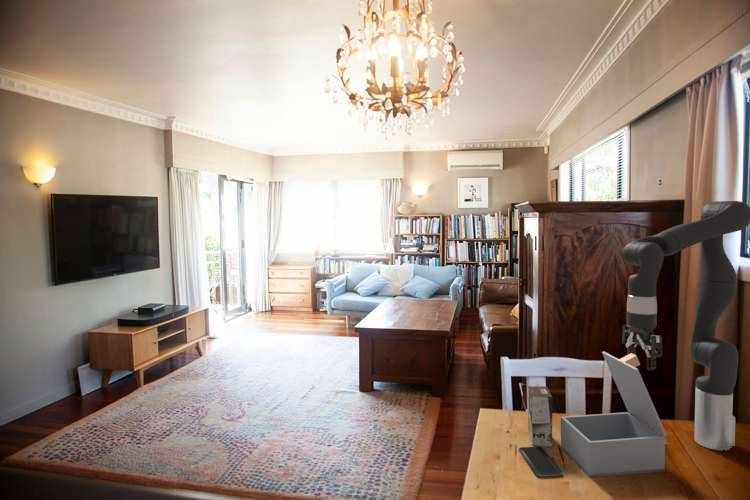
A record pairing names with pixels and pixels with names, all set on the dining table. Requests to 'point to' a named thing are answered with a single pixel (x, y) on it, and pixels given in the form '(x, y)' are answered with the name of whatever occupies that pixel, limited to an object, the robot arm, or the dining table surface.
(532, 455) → the phone
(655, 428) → the grey box lid
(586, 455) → the carton box
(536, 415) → the coffee box
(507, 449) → the dining table surface
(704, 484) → the dining table surface
